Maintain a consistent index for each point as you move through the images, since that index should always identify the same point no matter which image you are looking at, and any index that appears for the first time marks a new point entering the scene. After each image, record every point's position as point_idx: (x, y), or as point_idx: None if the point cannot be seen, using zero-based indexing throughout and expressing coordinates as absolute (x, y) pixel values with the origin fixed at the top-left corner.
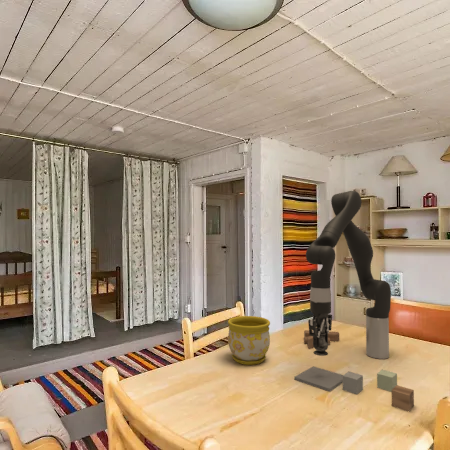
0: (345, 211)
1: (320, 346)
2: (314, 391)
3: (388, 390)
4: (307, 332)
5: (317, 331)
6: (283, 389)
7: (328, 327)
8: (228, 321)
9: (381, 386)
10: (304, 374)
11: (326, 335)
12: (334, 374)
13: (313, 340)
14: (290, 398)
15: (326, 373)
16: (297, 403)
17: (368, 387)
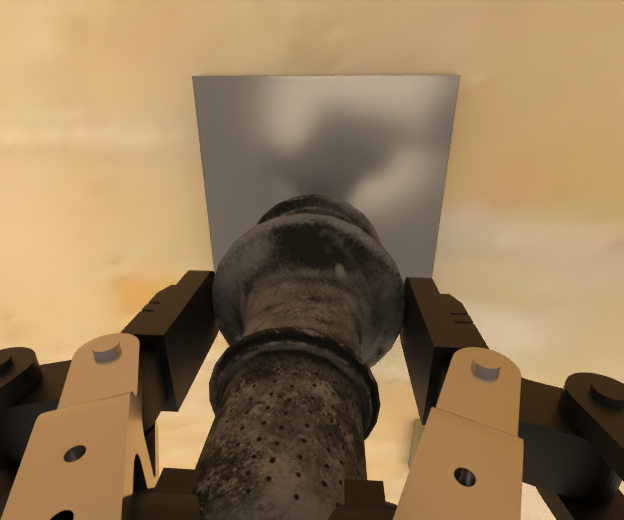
0: None
1: (227, 338)
2: (168, 244)
3: (410, 455)
4: None
5: (220, 405)
6: (46, 107)
7: (572, 492)
8: None
9: (414, 441)
10: (276, 108)
11: (419, 395)
12: (407, 250)
13: (132, 324)
14: (12, 194)
15: (390, 209)
16: (10, 243)
17: (391, 396)
